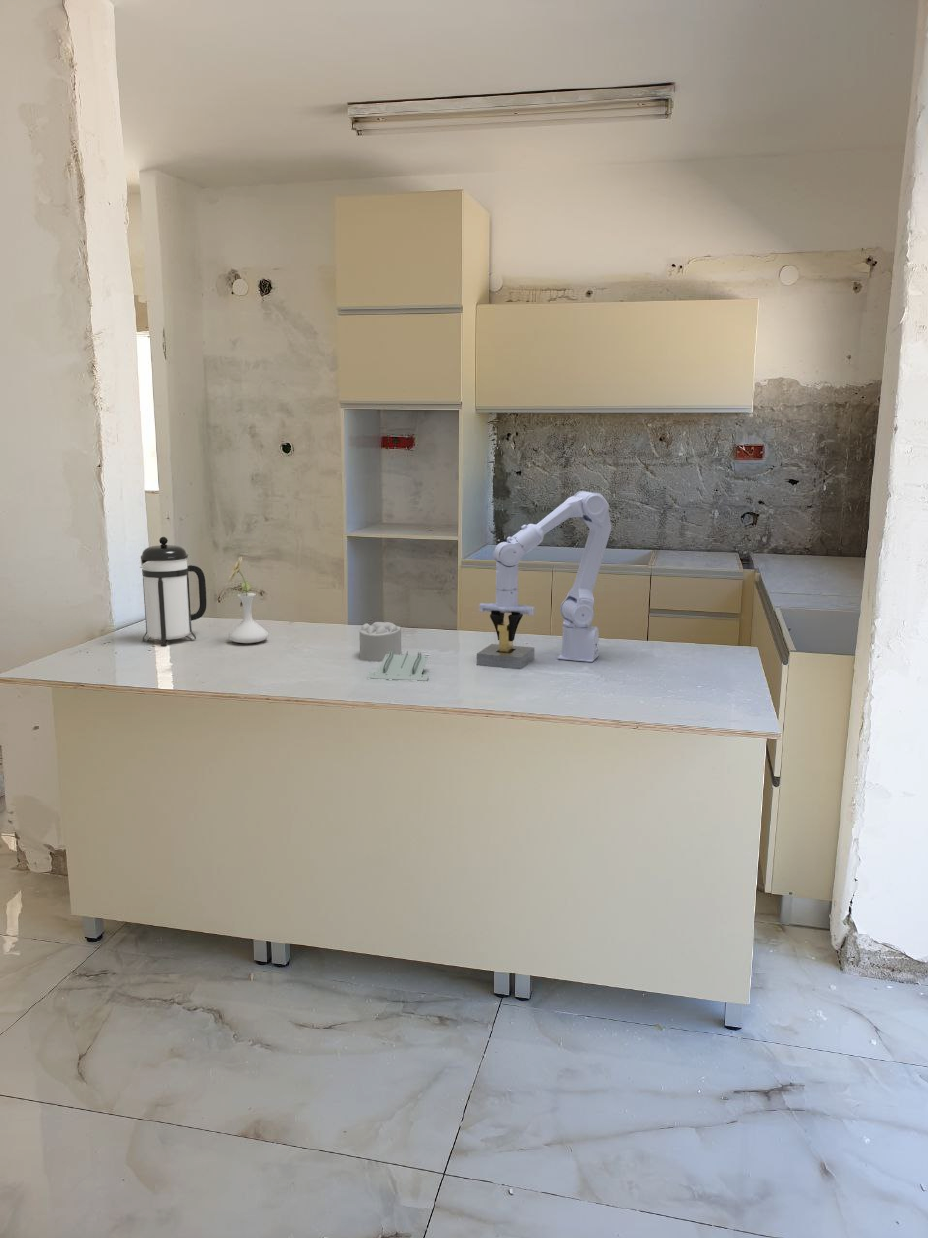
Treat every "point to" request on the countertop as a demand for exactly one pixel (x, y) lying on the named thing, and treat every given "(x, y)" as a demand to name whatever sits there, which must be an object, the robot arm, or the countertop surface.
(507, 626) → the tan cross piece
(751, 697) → the countertop surface
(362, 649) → the lumpy-topped squat cylinder
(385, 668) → the metal bracket
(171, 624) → the coffee press
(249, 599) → the flower in vase
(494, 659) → the metal plate with slot
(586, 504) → the robot arm
